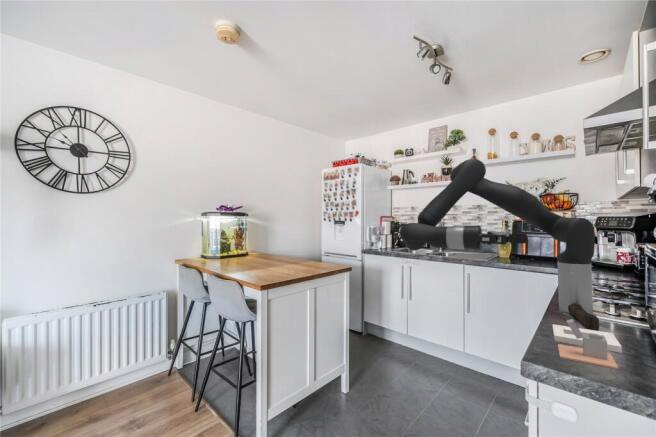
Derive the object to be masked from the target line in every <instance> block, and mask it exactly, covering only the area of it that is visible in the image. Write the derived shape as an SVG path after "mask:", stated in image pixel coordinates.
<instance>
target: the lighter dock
mask: <svg viewBox="0 0 656 437" xmlns="http://www.w3.org/2000/svg"><path fill="white" fill-rule="evenodd" d="M578 329H579V330H580V332H581V334H582V335H583V336H589V333H593V334H599V335H600V336H602V339H606V340H607V351H608V352H615V353H616V352H617V353H620V354H622V353H623V348H622V347H623V346H622V345H621V344H620V342H619V341H618V338H616V336H615V335H614V333H613V332H606V331H600V330H599V331H594V330H588V329H586V328H580V327H578ZM552 333H553V340H554V342H557V343H563V344H564V343H565V344H570V345H576V346H581V347H583V338H579V339H577V338H576V336H575V335H574V333H573V331H572V330H571V328H570V326H569V325H568V326H565V325H561V324H560V325H559V324H552Z"/></svg>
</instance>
